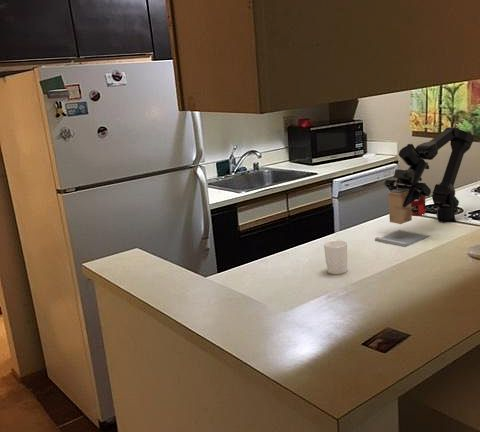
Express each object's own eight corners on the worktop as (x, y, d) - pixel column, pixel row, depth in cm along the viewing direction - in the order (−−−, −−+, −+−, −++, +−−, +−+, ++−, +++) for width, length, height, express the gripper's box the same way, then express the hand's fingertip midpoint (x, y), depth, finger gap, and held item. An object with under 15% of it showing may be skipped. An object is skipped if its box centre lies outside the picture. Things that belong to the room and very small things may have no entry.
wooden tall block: (400, 218, 222) (399, 187, 219) (411, 220, 217) (410, 188, 214) (389, 222, 218) (388, 191, 215) (401, 224, 214) (399, 192, 211)
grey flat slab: (399, 231, 228) (399, 228, 228) (429, 236, 217) (429, 233, 217) (375, 240, 219) (375, 238, 219) (404, 247, 208) (404, 244, 208)
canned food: (403, 213, 252) (402, 190, 249) (417, 210, 255) (416, 187, 253) (415, 216, 245) (414, 192, 243) (429, 213, 248) (428, 189, 246)
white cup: (343, 276, 187) (341, 248, 184) (322, 273, 191) (320, 246, 188) (352, 268, 193) (350, 240, 191) (331, 266, 197) (329, 239, 195)
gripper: (385, 159, 222) (368, 192, 218) (425, 162, 207) (407, 197, 203) (399, 174, 228) (383, 206, 225) (438, 178, 213) (421, 212, 210)
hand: (397, 205), depth 215 cm, fingers closed on wooden tall block, 5 cm apart
